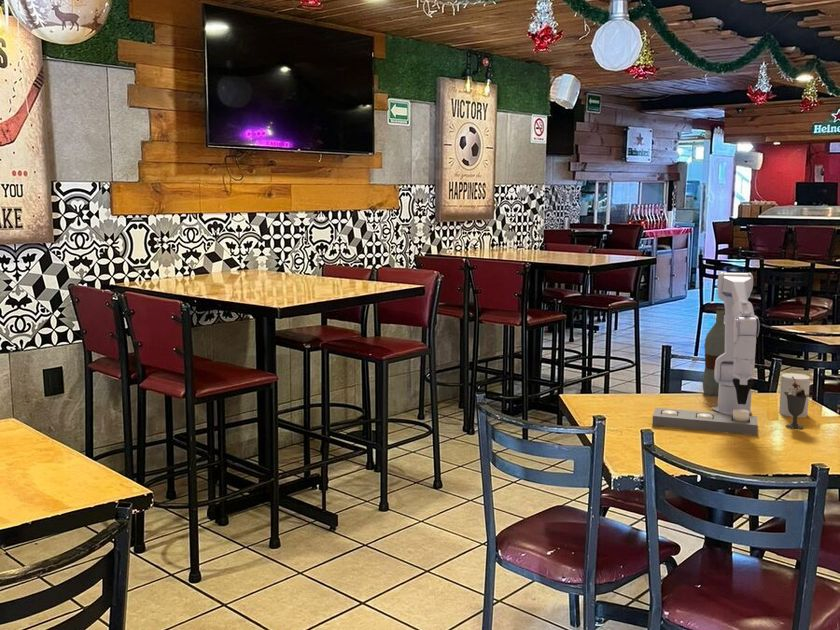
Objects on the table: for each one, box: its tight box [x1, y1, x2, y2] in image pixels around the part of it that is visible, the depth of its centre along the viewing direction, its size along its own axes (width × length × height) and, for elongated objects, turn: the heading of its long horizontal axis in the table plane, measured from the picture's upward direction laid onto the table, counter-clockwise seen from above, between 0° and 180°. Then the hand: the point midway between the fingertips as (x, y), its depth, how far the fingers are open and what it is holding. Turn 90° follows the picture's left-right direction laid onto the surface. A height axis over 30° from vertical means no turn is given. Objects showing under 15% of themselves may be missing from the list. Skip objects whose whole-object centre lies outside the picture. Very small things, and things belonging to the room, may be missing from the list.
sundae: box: [784, 377, 810, 430], centre depth 245 cm, size 7×7×15 cm
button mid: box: [697, 414, 713, 419], centre depth 247 cm, size 4×4×3 cm
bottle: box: [702, 306, 731, 397], centre depth 284 cm, size 9×9×30 cm
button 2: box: [733, 409, 750, 422], centre depth 243 cm, size 4×4×3 cm
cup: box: [778, 372, 811, 418], centre depth 260 cm, size 8×8×12 cm
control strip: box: [652, 407, 759, 436], centre depth 247 cm, size 10×29×3 cm, turn 70°
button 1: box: [662, 410, 677, 416], centre depth 251 cm, size 4×4×3 cm
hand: (741, 403), depth 243 cm, fingers closed
